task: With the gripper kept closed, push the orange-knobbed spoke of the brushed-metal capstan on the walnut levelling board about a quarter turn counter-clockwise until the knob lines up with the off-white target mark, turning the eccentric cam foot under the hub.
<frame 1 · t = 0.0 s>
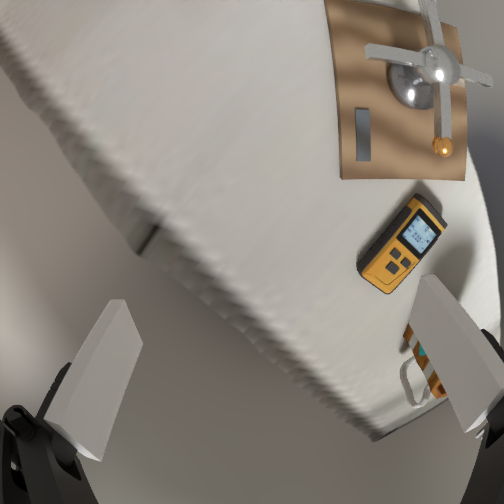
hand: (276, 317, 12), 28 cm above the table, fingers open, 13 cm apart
stand: (407, 90, 30), on the table
capstan: (427, 74, 24), point 6 cm above the table, hinge at 0.0°
mug: (421, 333, 50), on the table
electronic device: (398, 242, 41), on the table
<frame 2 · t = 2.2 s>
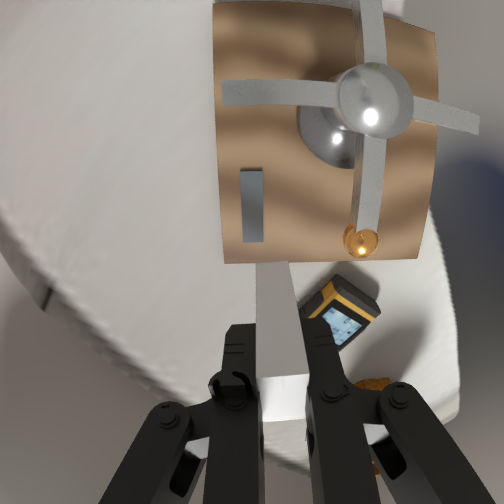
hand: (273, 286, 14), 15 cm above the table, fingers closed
stand: (336, 133, 24), on the table
capstan: (357, 113, 18), point 6 cm above the table, hinge at 0.0°
mug: (351, 406, 45), on the table
electronic device: (314, 326, 36), on the table
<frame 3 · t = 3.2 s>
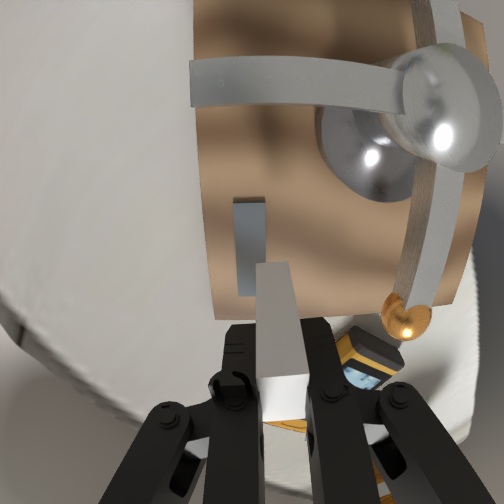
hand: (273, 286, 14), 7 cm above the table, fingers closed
stand: (367, 148, 17), on the table
capstan: (410, 123, 11), point 6 cm above the table, hinge at 0.0°
mug: (360, 444, 38), on the table
electronic device: (325, 378, 28), on the table
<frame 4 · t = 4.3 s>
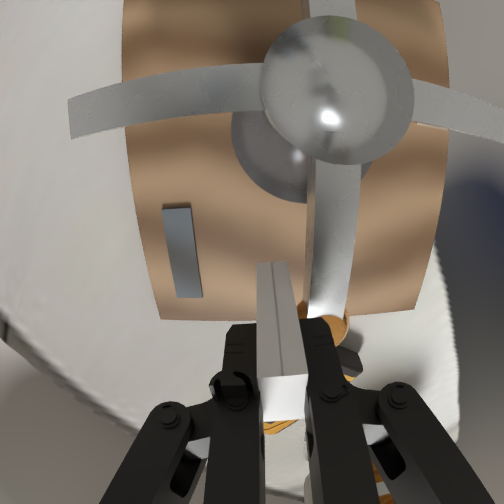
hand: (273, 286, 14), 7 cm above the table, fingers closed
stand: (298, 146, 17), on the table
capstan: (316, 115, 11), point 6 cm above the table, hinge at 0.6°, touching gripper
mug: (336, 448, 38), on the table
electronic device: (283, 381, 29), on the table
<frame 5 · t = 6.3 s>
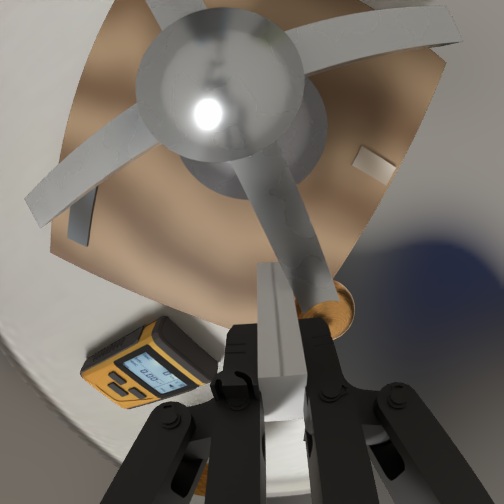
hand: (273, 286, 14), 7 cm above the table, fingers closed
stand: (220, 141, 17), on the table
capstan: (239, 110, 11), point 6 cm above the table, hinge at 48.5°, touching gripper
mug: (186, 448, 39), on the table
electronic device: (144, 360, 28), on the table
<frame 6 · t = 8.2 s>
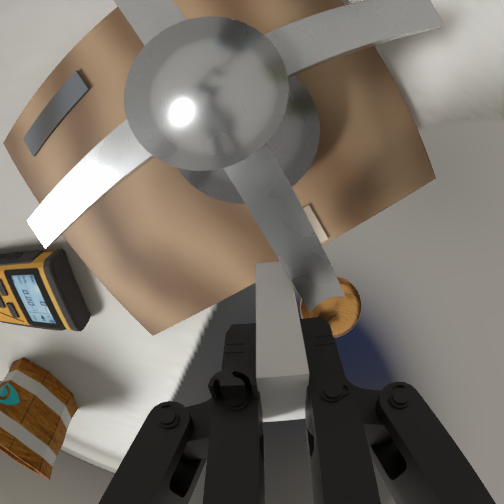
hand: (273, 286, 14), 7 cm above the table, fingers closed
stand: (191, 131, 17), on the table
capstan: (230, 116, 11), point 6 cm above the table, hinge at 86.5°
mug: (33, 381, 32), on the table
electronic device: (31, 282, 23), on the table
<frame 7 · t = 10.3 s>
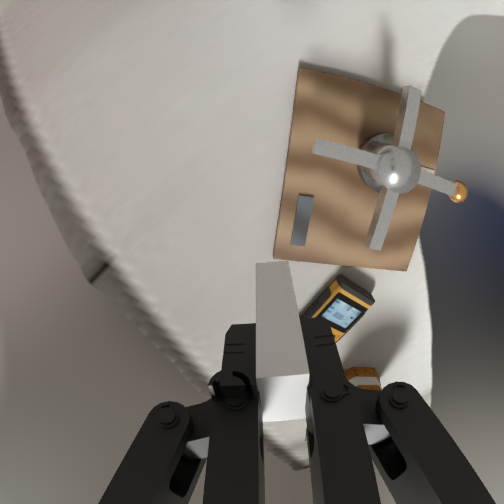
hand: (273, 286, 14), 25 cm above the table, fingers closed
stand: (364, 178, 36), on the table
capstan: (392, 166, 29), point 6 cm above the table, hinge at 86.5°
mug: (341, 391, 56), on the table
electronic device: (325, 315, 47), on the table
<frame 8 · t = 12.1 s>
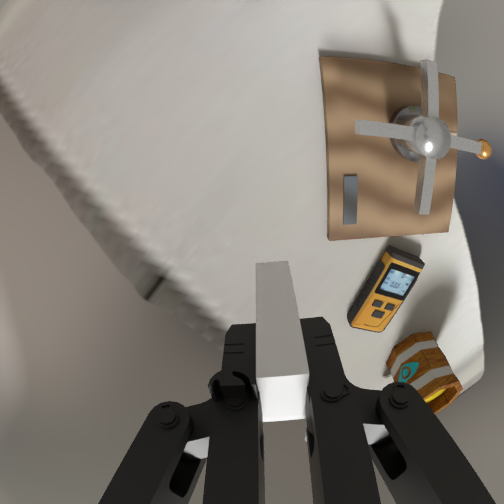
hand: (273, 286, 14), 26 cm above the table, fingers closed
stand: (397, 150, 35), on the table
capstan: (423, 135, 28), point 6 cm above the table, hinge at 86.5°
mug: (403, 360, 55), on the table
electronic device: (381, 287, 46), on the table
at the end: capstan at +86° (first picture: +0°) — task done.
